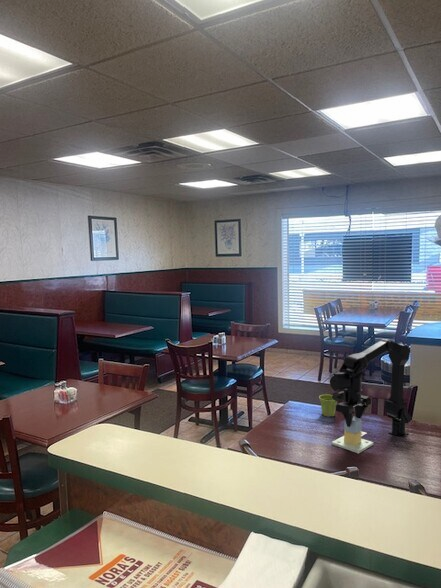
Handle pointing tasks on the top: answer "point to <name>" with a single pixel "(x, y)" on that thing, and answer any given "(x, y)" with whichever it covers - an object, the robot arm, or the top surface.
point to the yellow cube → (352, 437)
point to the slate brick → (354, 425)
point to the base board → (356, 448)
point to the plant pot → (328, 405)
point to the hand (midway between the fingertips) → (353, 424)
